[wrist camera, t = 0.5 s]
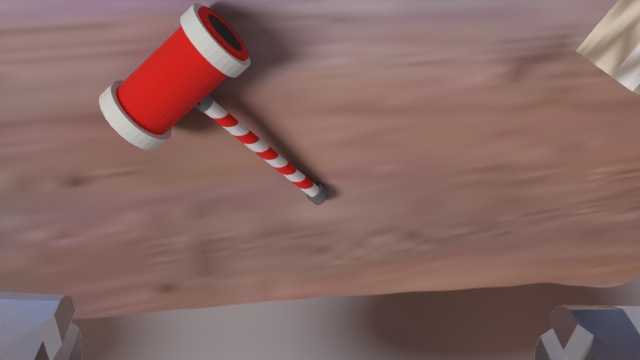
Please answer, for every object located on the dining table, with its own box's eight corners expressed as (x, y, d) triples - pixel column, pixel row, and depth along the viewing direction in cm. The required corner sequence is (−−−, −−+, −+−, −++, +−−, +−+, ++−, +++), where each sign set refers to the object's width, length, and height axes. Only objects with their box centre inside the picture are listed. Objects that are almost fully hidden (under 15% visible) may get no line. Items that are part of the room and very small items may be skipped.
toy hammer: (364, 158, 57) (377, 194, 52) (280, 223, 60) (284, 263, 55) (197, -9, 45) (192, 15, 40) (104, 82, 49) (89, 116, 44)
